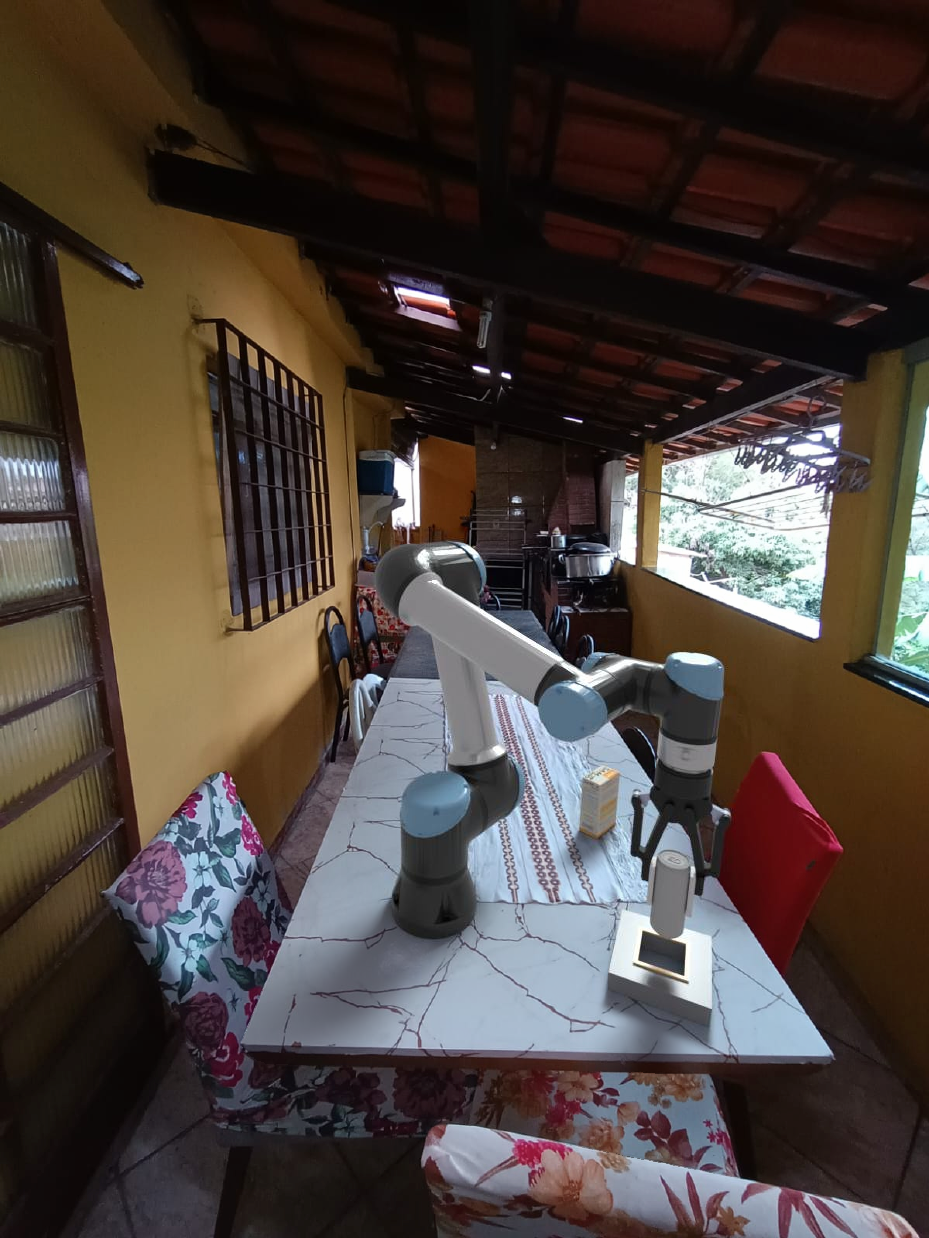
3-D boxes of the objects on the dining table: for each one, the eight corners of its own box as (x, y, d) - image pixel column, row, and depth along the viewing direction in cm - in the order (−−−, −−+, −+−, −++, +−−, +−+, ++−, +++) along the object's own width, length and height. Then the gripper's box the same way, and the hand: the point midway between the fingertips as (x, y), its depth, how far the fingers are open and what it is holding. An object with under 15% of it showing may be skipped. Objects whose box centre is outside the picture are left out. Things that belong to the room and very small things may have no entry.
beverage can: (656, 911, 85) (663, 844, 83) (687, 927, 82) (695, 857, 80) (644, 929, 82) (651, 859, 79) (677, 946, 79) (685, 874, 76)
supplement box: (597, 815, 125) (601, 763, 122) (616, 824, 122) (621, 771, 119) (577, 830, 119) (581, 776, 116) (596, 839, 116) (600, 784, 113)
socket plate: (606, 988, 80) (608, 970, 79) (620, 923, 93) (622, 907, 92) (709, 1026, 75) (712, 1007, 74) (709, 952, 87) (711, 934, 86)
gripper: (615, 760, 76) (604, 902, 81) (757, 788, 69) (735, 942, 74) (623, 740, 83) (612, 872, 88) (753, 763, 76) (733, 906, 81)
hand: (668, 904), depth 81 cm, fingers closed on beverage can, 5 cm apart
